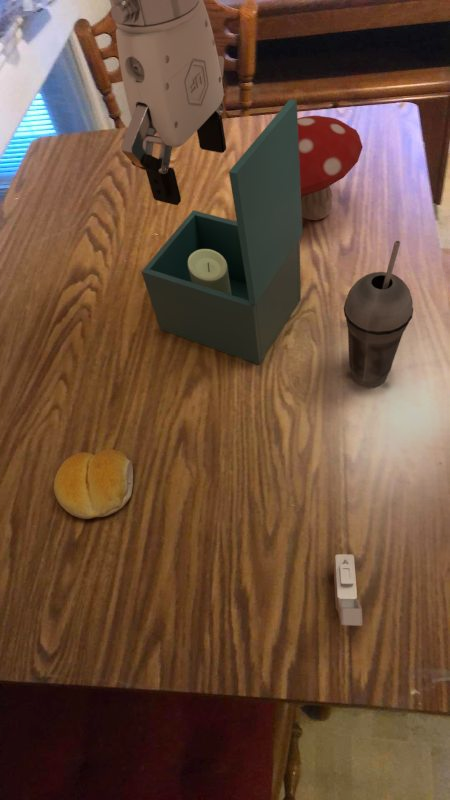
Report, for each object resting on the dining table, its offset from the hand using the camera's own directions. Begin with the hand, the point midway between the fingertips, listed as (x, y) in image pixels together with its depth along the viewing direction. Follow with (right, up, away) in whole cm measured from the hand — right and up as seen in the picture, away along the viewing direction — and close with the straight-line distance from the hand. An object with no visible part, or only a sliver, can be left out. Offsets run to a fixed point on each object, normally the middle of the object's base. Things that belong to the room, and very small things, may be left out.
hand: (191, 174), depth 62 cm
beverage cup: (+22, -21, +9) cm, 32 cm away
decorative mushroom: (+16, +4, +27) cm, 32 cm away
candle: (+2, -12, +17) cm, 21 cm away
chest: (+4, -13, +17) cm, 22 cm away
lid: (+8, -4, -2) cm, 9 cm away
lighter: (+15, -45, -7) cm, 48 cm away
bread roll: (-11, -35, +4) cm, 37 cm away
